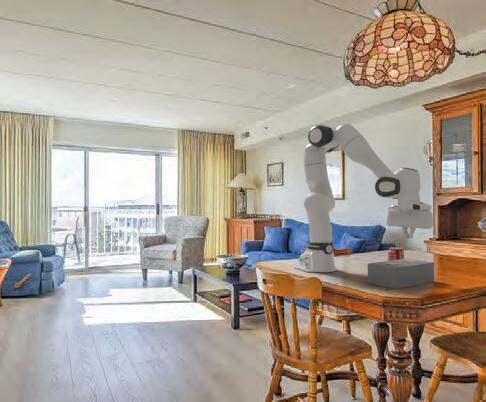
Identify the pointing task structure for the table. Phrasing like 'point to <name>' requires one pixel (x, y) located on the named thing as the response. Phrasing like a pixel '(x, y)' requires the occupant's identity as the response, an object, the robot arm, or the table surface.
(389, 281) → the block
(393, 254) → the soda can
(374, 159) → the robot arm
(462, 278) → the table surface
